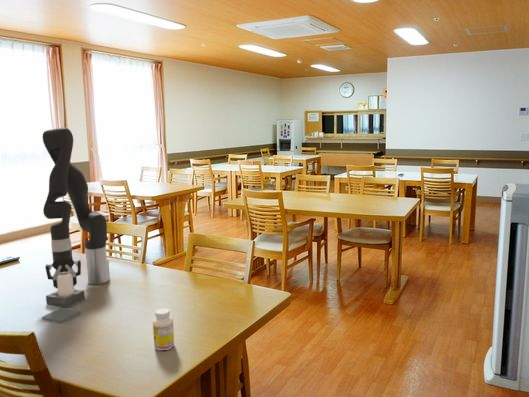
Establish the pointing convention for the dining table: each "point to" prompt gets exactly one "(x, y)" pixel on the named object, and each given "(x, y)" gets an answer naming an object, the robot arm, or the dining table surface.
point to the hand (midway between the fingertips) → (65, 286)
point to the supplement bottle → (163, 330)
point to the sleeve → (65, 299)
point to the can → (65, 284)
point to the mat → (61, 315)
